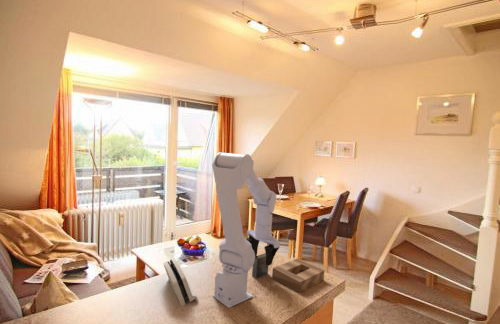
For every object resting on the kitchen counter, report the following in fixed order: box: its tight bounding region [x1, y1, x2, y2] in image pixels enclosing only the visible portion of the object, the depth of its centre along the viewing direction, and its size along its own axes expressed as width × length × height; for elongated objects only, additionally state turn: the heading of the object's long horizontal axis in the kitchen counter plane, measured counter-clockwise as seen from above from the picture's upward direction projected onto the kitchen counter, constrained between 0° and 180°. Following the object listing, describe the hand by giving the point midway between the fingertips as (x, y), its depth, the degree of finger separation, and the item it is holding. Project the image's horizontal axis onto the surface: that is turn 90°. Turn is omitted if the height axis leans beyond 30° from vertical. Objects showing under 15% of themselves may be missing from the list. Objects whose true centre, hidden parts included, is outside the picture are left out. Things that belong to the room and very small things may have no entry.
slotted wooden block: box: [271, 258, 325, 293], centre depth 98 cm, size 14×12×4 cm
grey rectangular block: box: [251, 252, 269, 279], centre depth 99 cm, size 6×2×7 cm, turn 133°
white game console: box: [162, 257, 199, 307], centre depth 85 cm, size 17×5×10 cm, turn 29°
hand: (261, 260), depth 99 cm, fingers open, 7 cm apart
